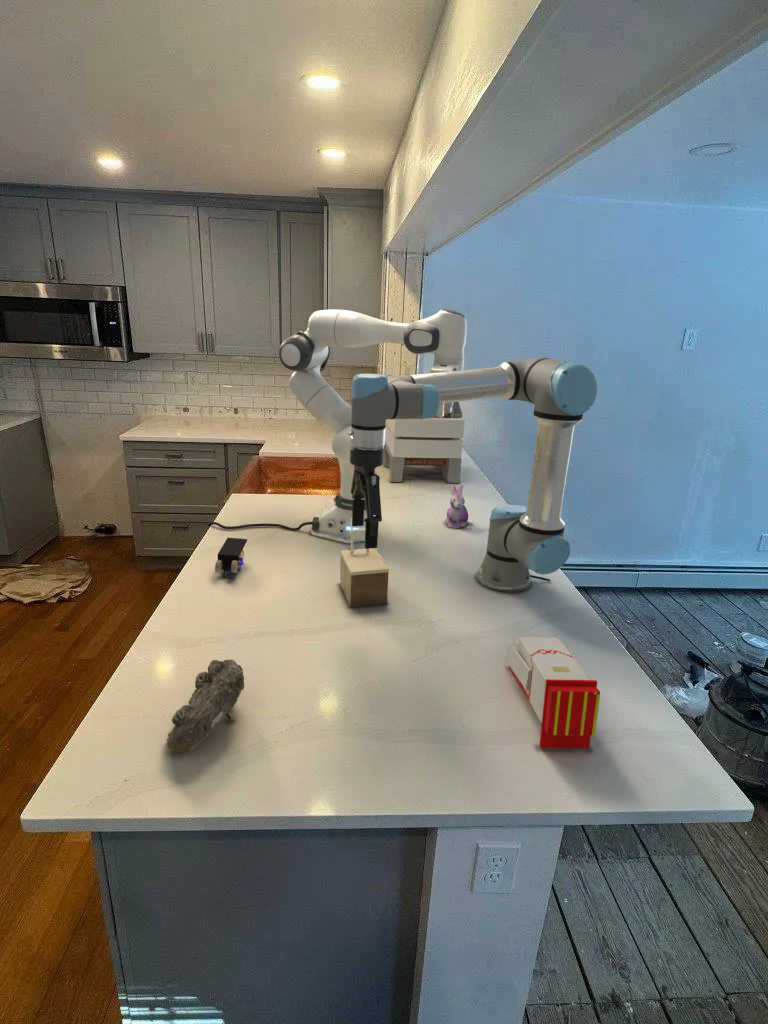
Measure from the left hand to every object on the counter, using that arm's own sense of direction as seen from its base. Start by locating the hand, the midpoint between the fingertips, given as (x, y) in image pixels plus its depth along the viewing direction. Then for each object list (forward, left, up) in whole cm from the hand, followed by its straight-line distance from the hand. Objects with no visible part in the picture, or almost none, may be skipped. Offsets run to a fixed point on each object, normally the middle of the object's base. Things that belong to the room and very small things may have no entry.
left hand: (444, 414), depth 172 cm
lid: (-13, -36, -36) cm, 53 cm away
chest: (-13, -37, -45) cm, 59 cm away
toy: (+36, -68, -45) cm, 89 cm away
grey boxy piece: (-25, +90, -45) cm, 104 cm away
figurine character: (-53, -36, -45) cm, 79 cm away
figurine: (+3, +27, -45) cm, 53 cm away
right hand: (-7, -54, -20) cm, 58 cm away
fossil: (-24, -94, -45) cm, 107 cm away
